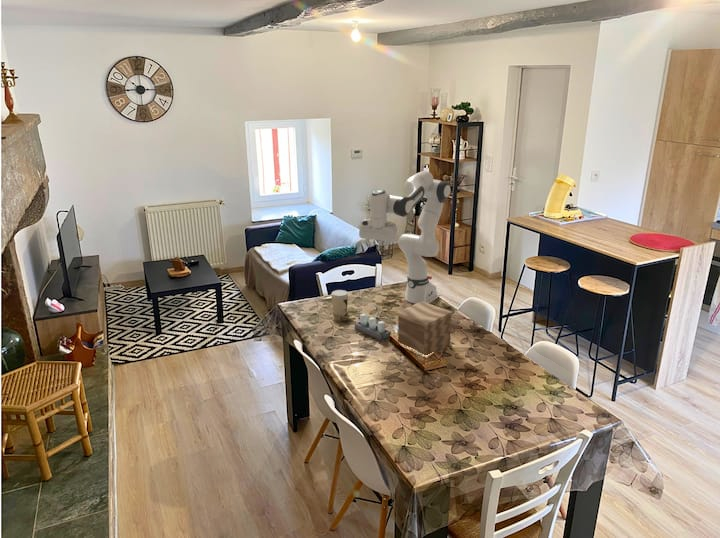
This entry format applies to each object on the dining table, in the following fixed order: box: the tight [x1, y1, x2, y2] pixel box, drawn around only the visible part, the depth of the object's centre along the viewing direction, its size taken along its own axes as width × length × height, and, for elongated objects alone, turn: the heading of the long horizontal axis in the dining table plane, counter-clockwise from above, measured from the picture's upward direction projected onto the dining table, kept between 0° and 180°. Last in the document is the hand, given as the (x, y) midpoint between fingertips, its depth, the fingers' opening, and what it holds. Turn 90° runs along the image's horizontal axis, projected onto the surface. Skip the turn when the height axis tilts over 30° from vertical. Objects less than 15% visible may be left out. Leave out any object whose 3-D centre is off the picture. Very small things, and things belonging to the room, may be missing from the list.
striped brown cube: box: [395, 301, 453, 355], centre depth 268 cm, size 19×19×18 cm
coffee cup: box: [330, 289, 349, 316], centre depth 307 cm, size 9×9×12 cm
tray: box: [354, 313, 392, 342], centre depth 283 cm, size 6×20×8 cm, turn 43°
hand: (377, 247), depth 286 cm, fingers open, 8 cm apart
